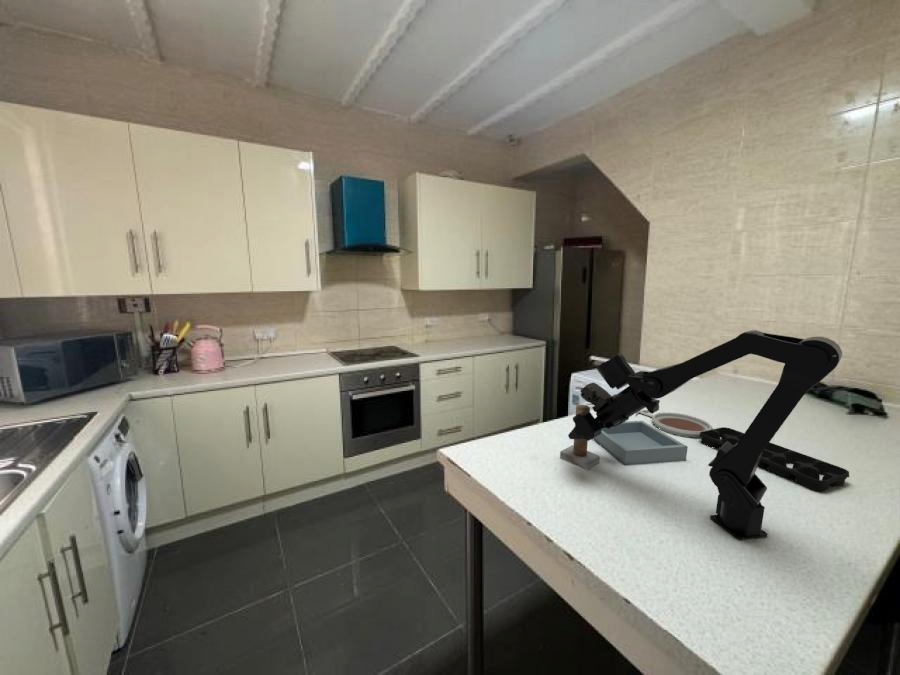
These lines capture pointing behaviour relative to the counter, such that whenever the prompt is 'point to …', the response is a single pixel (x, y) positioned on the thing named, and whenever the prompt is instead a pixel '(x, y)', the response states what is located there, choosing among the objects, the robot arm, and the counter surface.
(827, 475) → the egg carton
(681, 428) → the frying pan
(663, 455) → the tray
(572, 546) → the counter surface
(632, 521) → the counter surface
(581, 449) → the brown post on plinth
